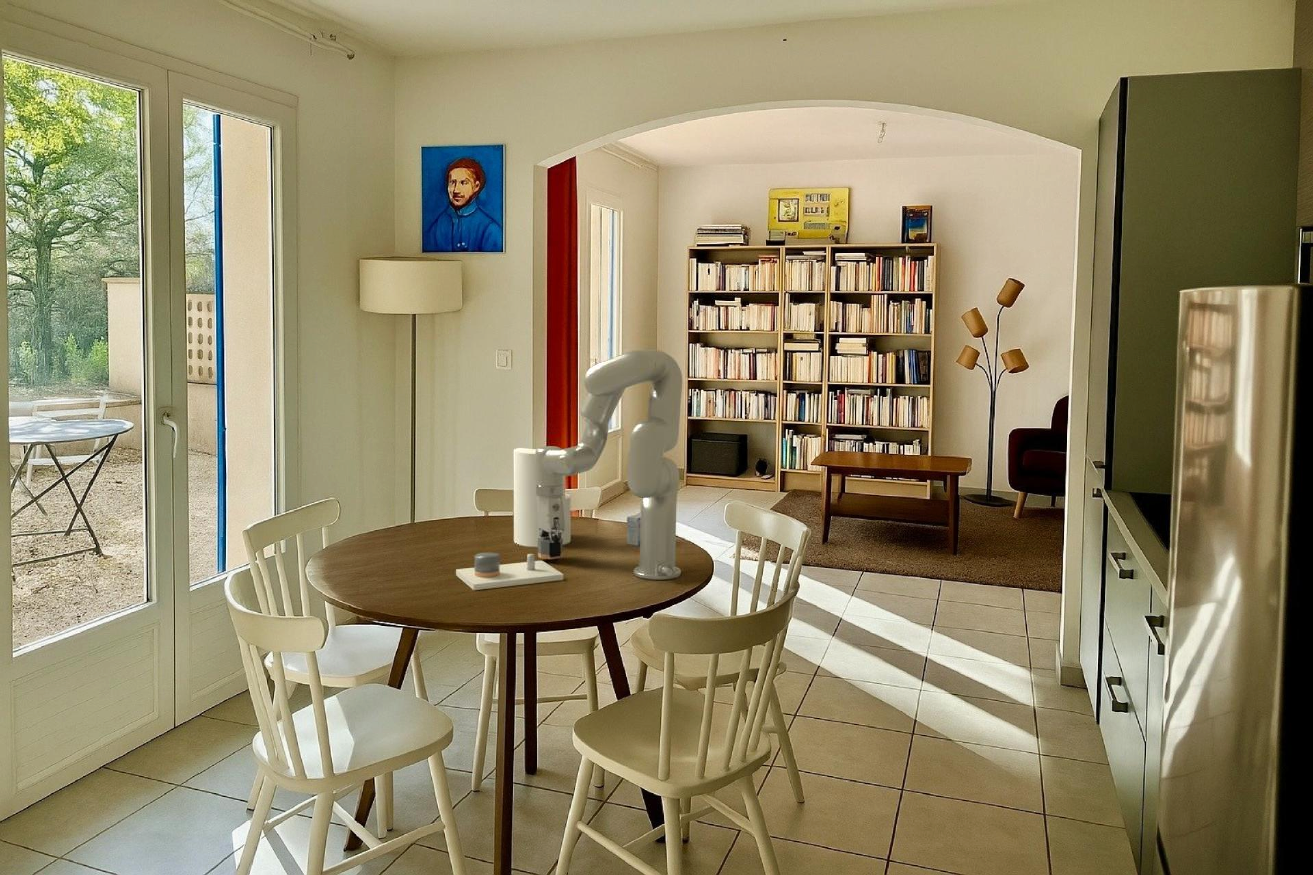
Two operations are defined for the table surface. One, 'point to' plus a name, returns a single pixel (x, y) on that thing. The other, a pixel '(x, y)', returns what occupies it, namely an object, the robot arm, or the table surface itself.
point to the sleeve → (546, 548)
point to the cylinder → (532, 501)
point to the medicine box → (633, 530)
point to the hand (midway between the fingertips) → (550, 553)
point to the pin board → (506, 572)
